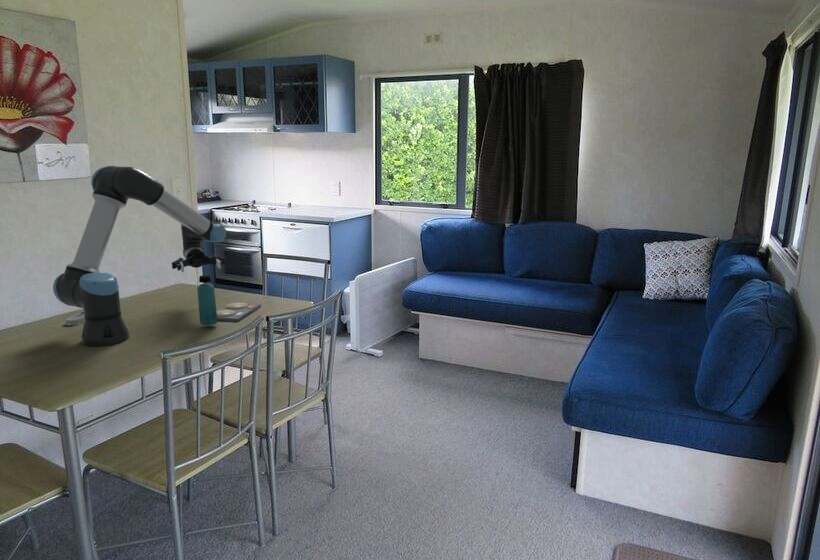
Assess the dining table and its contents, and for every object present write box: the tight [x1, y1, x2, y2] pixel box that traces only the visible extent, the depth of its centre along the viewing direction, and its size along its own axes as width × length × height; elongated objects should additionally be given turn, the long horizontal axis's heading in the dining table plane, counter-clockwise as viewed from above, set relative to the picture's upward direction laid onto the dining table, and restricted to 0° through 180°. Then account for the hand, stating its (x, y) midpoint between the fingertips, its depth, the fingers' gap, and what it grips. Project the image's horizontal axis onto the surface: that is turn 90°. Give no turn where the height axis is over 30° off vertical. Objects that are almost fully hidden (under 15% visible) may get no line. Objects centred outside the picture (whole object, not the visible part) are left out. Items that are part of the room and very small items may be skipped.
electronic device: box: [65, 310, 85, 325], centre depth 235 cm, size 5×10×15 cm
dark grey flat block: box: [216, 302, 262, 322], centre depth 245 cm, size 22×14×2 cm, turn 170°
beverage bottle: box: [196, 274, 218, 326], centre depth 225 cm, size 6×7×20 cm
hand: (201, 267), depth 231 cm, fingers open, 13 cm apart
